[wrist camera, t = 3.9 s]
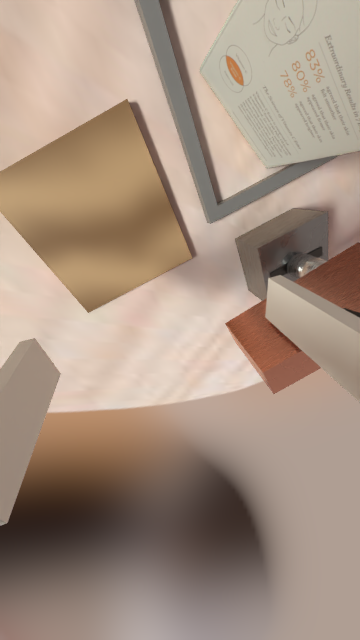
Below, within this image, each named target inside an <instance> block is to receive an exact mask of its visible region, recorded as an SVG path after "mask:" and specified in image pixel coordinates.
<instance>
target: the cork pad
mask: <svg viewBox="0 0 360 640" xmlns="http://www.w3.org/2000/svg"><path fill="white" fill-rule="evenodd" d="M0 212H1V213H2V214H3V215H4V216H5V218H6V219H7V220H8V221H9V222H10V223H11V224H12V226H13V227H14V228H15V229H16V230H17V231H18V232H19V234H20V235H21V236H22V237H23V238H24V239H25V241H26V242H27V243H28V244H29V245H30V246H31V247H32V249H33V250H34V251H35V252H36V253H37V254H38V255H39V257H40V258H41V259H42V260H43V261H44V262H45V264H46V265H47V266H48V267H49V268H50V269H51V270H52V272H53V273H54V274H55V275H56V276H57V277H58V278H59V280H60V281H61V282H62V283H63V284H64V285H65V287H66V288H67V289H68V290H69V291H70V292H71V293H72V295H73V296H74V297H75V298H76V299H77V300H78V301H79V303H80V304H81V305H82V306H83V307H84V308H85V310H86V311H87V312H88V313H89V312H91V311H93V310H94V309H96V308H98V307H100V306H102V305H104V304H106V303H108V302H110V301H112V300H113V299H115V298H117V297H119V296H121V295H123V294H125V293H127V292H129V291H131V290H133V289H134V288H136V287H138V286H140V285H142V284H144V283H146V282H148V281H150V280H152V279H153V278H155V277H157V276H159V275H161V274H163V273H165V272H167V271H169V270H171V269H173V268H174V267H176V266H178V265H180V264H182V263H184V262H186V261H188V260H190V259H192V256H191V253H190V251H189V249H188V246H187V244H186V241H185V239H184V236H183V234H182V231H181V229H180V227H179V224H178V222H177V219H176V217H175V214H174V212H173V209H172V207H171V205H170V202H169V200H168V197H167V195H166V192H165V190H164V187H163V185H162V183H161V180H160V178H159V175H158V173H157V170H156V168H155V165H154V163H153V161H152V158H151V156H150V153H149V151H148V148H147V146H146V143H145V141H144V139H143V136H142V134H141V131H140V129H139V126H138V124H137V121H136V119H135V117H134V114H133V112H132V109H131V107H130V104H129V102H128V99H126V100H125V101H123V102H121V103H119V104H118V105H116V106H114V107H112V108H111V109H109V110H107V111H105V112H104V113H102V114H100V115H98V116H97V117H95V118H93V119H91V120H90V121H88V122H86V123H84V124H83V125H81V126H79V127H77V128H76V129H74V130H72V131H70V132H69V133H67V134H65V135H64V136H62V137H60V138H58V139H57V140H55V141H53V142H51V143H50V144H48V145H46V146H44V147H43V148H41V149H39V150H37V151H36V152H34V153H32V154H30V155H29V156H27V157H25V158H23V159H22V160H20V161H18V162H16V163H15V164H13V165H11V166H9V167H8V168H6V169H4V170H2V171H1V172H0Z"/></svg>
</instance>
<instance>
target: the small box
mask: <svg viewBox="0 0 360 640" xmlns="http://www.w3.org/2000/svg"><path fill="white" fill-rule="evenodd" d="M200 73H201V74H202V76H203V77H204V79H205V80H206V82H207V83H208V85H209V86H210V88H211V89H212V90H213V92H214V93H215V95H216V96H217V98H218V99H219V101H220V102H221V104H222V105H223V107H224V108H225V109H226V111H227V112H228V114H229V115H230V117H231V118H232V120H233V121H234V123H235V124H236V126H237V127H238V128H239V130H240V131H241V133H242V134H243V136H244V137H245V139H246V140H247V141H248V143H249V144H250V146H251V147H252V149H253V150H254V151H255V153H256V154H257V156H258V157H259V159H260V160H261V162H262V163H263V164H264V166H265V167H266V168H271V167H277V166H282V165H287V164H293V163H299V162H304V161H310V160H315V159H320V158H325V157H330V156H336V155H341V154H347V153H352V152H358V151H360V0H238V1H237V3H236V5H235V6H234V8H233V10H232V12H231V13H230V15H229V17H228V18H227V20H226V22H225V24H224V26H223V27H222V29H221V31H220V33H219V34H218V36H217V38H216V40H215V41H214V43H213V45H212V47H211V48H210V50H209V52H208V54H207V56H206V57H205V59H204V61H203V63H202V65H201V68H200Z"/></svg>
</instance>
